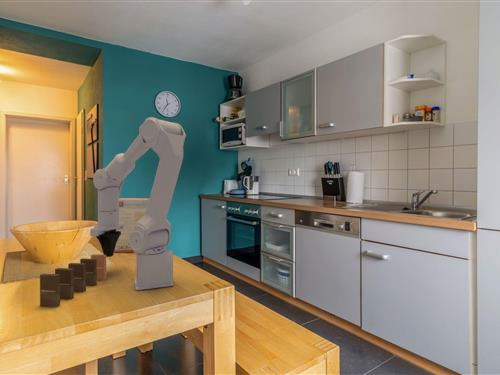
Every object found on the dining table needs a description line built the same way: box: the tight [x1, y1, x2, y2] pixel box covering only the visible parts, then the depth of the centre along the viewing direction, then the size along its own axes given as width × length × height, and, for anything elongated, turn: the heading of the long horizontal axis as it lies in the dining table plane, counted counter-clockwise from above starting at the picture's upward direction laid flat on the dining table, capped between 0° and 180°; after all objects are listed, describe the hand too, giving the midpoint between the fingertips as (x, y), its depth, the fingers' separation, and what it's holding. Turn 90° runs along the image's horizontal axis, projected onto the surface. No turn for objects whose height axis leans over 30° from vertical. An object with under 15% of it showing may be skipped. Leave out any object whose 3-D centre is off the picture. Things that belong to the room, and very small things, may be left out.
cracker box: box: [114, 197, 149, 254], centre depth 119 cm, size 14×6×21 cm, turn 84°
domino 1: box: [39, 273, 61, 308], centre depth 68 cm, size 1×4×7 cm, turn 84°
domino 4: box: [79, 257, 98, 287], centre depth 81 cm, size 1×4×7 cm, turn 84°
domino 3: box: [67, 262, 87, 293], centre depth 77 cm, size 1×4×7 cm, turn 84°
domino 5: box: [90, 254, 107, 282], centre depth 85 cm, size 1×4×7 cm, turn 84°
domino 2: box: [54, 267, 75, 300], centre depth 72 cm, size 1×4×7 cm, turn 84°
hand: (108, 256), depth 90 cm, fingers closed
